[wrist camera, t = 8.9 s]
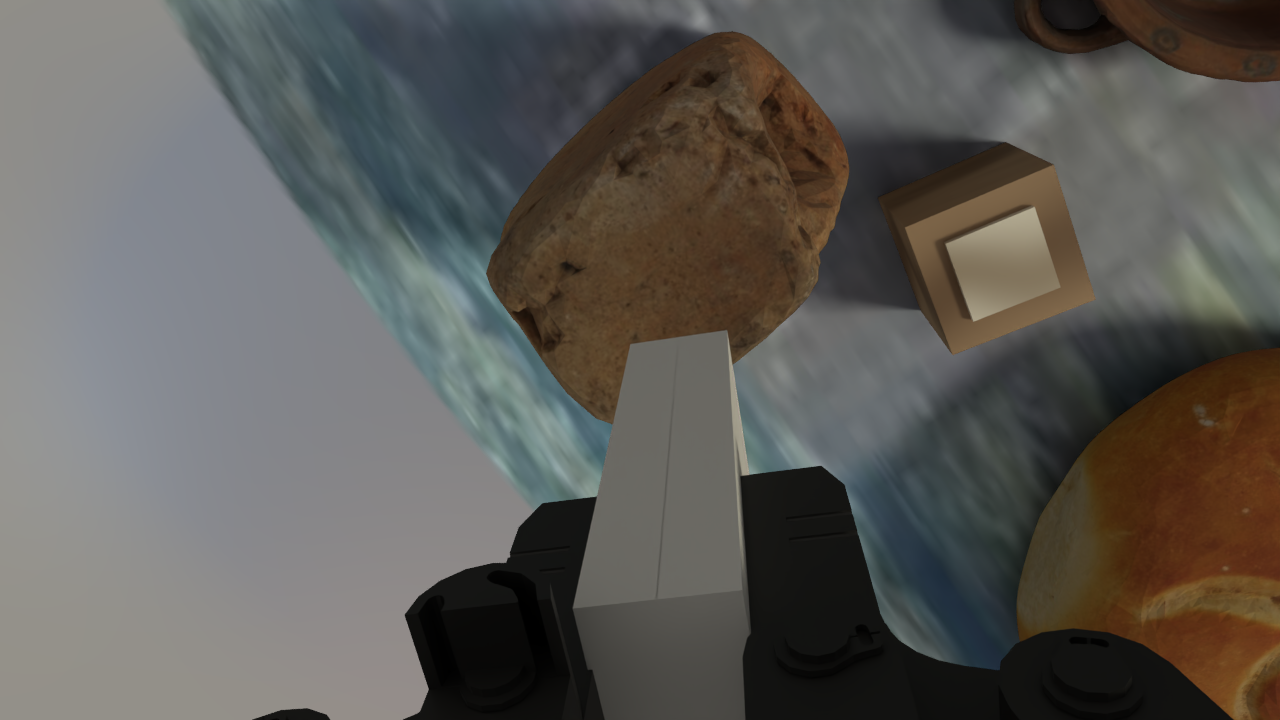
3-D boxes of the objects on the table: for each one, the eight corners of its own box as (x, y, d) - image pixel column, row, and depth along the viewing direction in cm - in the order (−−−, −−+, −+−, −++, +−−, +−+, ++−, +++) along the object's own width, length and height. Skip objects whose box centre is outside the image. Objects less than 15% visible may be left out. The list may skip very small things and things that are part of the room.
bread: (918, 443, 47) (972, 553, 38) (1403, 233, 42) (1605, 301, 33) (1069, 755, 54) (1148, 913, 45) (1503, 608, 49) (1694, 752, 39)
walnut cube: (877, 197, 43) (906, 229, 37) (1005, 141, 41) (1056, 165, 35) (920, 309, 44) (954, 357, 39) (1043, 260, 43) (1098, 301, 37)
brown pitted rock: (647, 277, 44) (611, 479, 26) (543, 156, 43) (426, 279, 24) (831, 131, 41) (942, 242, 23) (729, -6, 40) (759, -8, 21)
